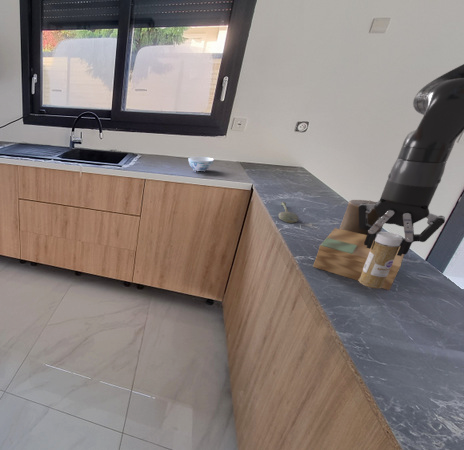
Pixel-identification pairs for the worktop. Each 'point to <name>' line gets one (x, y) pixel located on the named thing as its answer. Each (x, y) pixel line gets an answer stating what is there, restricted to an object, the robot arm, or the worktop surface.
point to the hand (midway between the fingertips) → (383, 250)
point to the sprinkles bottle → (380, 259)
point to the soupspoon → (288, 215)
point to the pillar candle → (352, 217)
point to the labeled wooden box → (350, 256)
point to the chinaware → (200, 163)
